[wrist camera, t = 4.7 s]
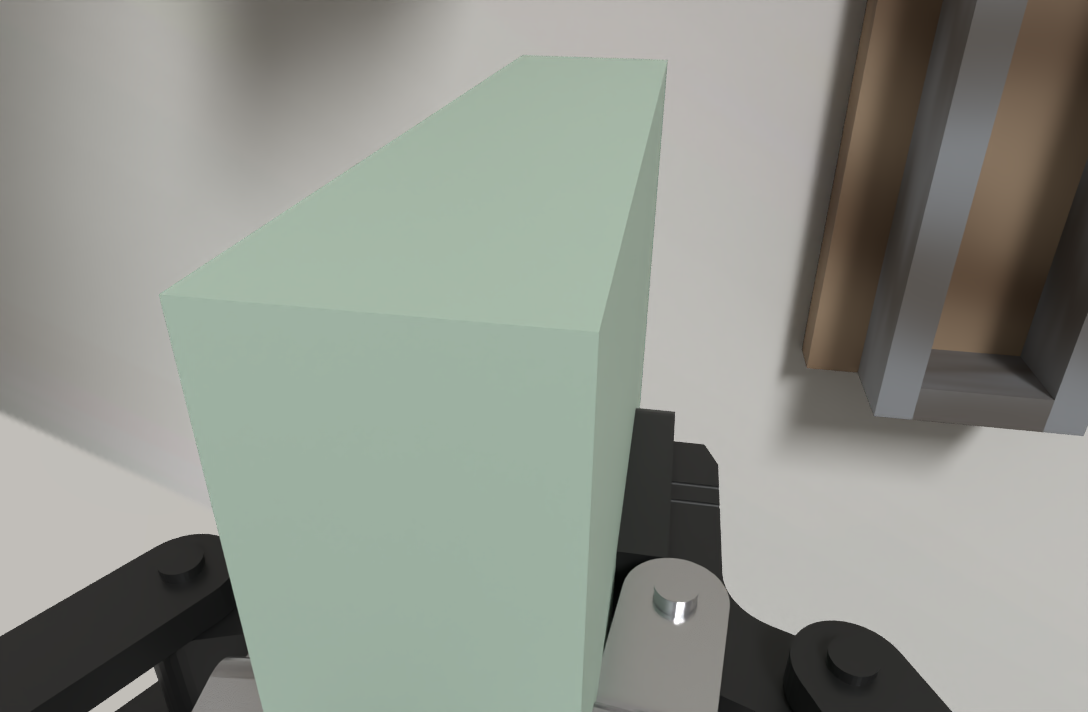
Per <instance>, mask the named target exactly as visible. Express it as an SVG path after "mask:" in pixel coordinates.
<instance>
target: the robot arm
mask: <svg viewBox="0 0 1088 712" xmlns="http://www.w3.org/2000/svg"><path fill="white" fill-rule="evenodd" d="M674 423H675V412H671V411H661V410H651V409H641V408H636V410H635V417H634V424H633V432H632V439H631V447H630V454H629V462H628V469H627V477H626V484H625V492H624V499H623V507H622V515H621V522H620V530H619V537H618V545H617V553H616V567H615V581H614V596H613V610H612V624H611V628H610V632H609V635H608V639H607V642H606V645H605V649H604V652H603V656H602V661H601V669H600V676H599V684H598V691H597V698H596V702H594V705H593V710H592V712H952V711H951V710H950V709H949V708H948V707H947V705H946V704H945V703H944V702H943V701H942V700H941V699H940V697H939V696H938V695H937V694H936V693H935V692H934V691H933V689H932V688H931V687H930V686H929V685H928V684H927V683H926V681H925V680H924V679H923V678H922V677H921V676H920V675H919V673H918V672H917V671H916V670H915V669H914V668H913V666H912V665H911V664H910V663H909V662H908V661H907V660H906V658H905V657H904V656H903V655H902V654H901V653H900V652H899V651H898V650H897V649H896V648H895V647H894V646H893V645H892V644H891V643H890V642H888V641H887V640H886V639H885V638H883V637H881V636H880V635H878V634H877V633H875V632H873V631H871V630H869V629H867V628H865V627H862V626H859V625H856V624H852V623H848V622H843V621H821V622H816V623H813V624H810V625H808V626H806V627H805V628H803V629H801V630H800V631H799V632H798V633H797V634H796V636H795V635H792V634H790V633H787V632H785V631H782V630H780V629H777V628H775V627H772V626H770V625H768V624H765V623H763V622H761V621H759V620H758V619H756V618H754V617H753V616H751V615H750V614H748V613H747V612H746V611H744V610H743V609H742V608H741V607H740V606H739V605H738V604H737V603H736V602H735V601H734V600H733V599H732V597H731V596H730V595H729V593H728V591H727V589H726V587H725V584H724V581H723V576H722V556H721V530H720V508H719V504H720V503H719V477H718V464H717V463H716V461H715V460H714V458H713V457H712V455H711V454H710V452H709V451H708V449H707V448H706V446H705V445H703V444H694V443H684V442H675V441H674ZM152 667H154V669H155V672H156V675H157V678H158V682H156V683H155V684H153V685H152V686H151V687H149V688H148V689H146V690H145V691H144V692H142V693H141V694H139V695H138V696H136V697H135V698H134V699H132V700H131V701H129V702H128V703H126V704H125V705H124V706H122V707H121V708H120V709H118V710H117V711H115V712H263V708H262V704H261V700H260V696H259V692H258V688H257V684H256V680H255V676H254V672H253V669H252V665H251V661H250V657H249V653H248V649H247V645H246V641H245V637H244V633H243V629H242V625H241V621H240V617H239V613H238V609H237V605H236V601H235V597H234V593H233V589H232V585H231V581H230V577H229V573H228V569H227V565H226V561H225V557H224V553H223V549H222V545H221V541H220V537H219V536H217V535H211V534H194V535H188V536H182V537H179V538H176V539H172V540H170V541H167V542H165V543H163V544H161V545H159V546H157V547H155V548H153V549H151V550H150V551H148V552H146V553H144V554H143V555H141V556H139V557H137V558H136V559H134V560H132V561H130V562H129V563H127V564H125V565H123V566H122V567H120V568H119V569H117V570H115V571H113V572H112V573H110V574H108V575H106V576H104V577H103V578H101V579H99V580H98V581H96V582H94V583H92V584H90V585H89V586H87V587H86V588H84V589H82V590H80V591H78V592H77V593H75V594H73V595H72V596H70V597H68V598H66V599H64V600H63V601H61V602H59V603H58V604H56V605H54V606H52V607H51V608H49V609H47V610H45V611H44V612H42V613H40V614H38V615H37V616H35V617H33V618H32V619H30V620H28V621H26V622H25V623H23V624H21V625H19V626H18V627H16V628H14V629H13V630H11V631H9V632H7V633H5V634H4V635H2V636H0V712H88V711H90V710H91V709H93V708H94V707H96V706H97V705H99V704H100V703H102V702H103V701H104V700H106V699H107V698H109V697H110V696H112V695H113V694H115V693H116V692H118V691H119V690H120V689H122V688H123V687H125V686H126V685H128V684H129V683H131V682H132V681H134V680H135V679H136V678H138V677H139V676H141V675H142V674H143V673H145V672H147V671H148V670H149V669H151V668H152Z"/></svg>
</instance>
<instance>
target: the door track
mask: <svg viewBox="0 0 1088 712" xmlns="http://www.w3.org/2000/svg"><path fill="white" fill-rule="evenodd" d="M802 351H803V355H804V359H805V363H806V367H807V368H812V369H823V370H834V371H846V372H857V373H858V375H859V377H860V380H861V383H862V385H863V388H864V391H865V393H866V396H867V399H868V401H869V404H870V407H871V409H872V412H873V415H874V416H879V417H889V418H900V419H910V420H921V421H931V422H942V423H952V424H963V425H973V426H984V427H994V428H1005V429H1015V430H1026V431H1036V432H1047V433H1057V434H1068V435H1078V436H1084V433H1085V431H1086V428H1087V426H1088V0H867V5H866V11H865V16H864V21H863V27H862V32H861V37H860V43H859V48H858V53H857V59H856V64H855V69H854V75H853V80H852V85H851V91H850V96H849V102H848V107H847V112H846V118H845V123H844V128H843V134H842V139H841V144H840V150H839V155H838V160H837V166H836V171H835V176H834V182H833V187H832V192H831V198H830V203H829V208H828V214H827V219H826V224H825V230H824V235H823V241H822V246H821V251H820V257H819V262H818V267H817V273H816V278H815V283H814V289H813V294H812V299H811V305H810V310H809V315H808V321H807V326H806V331H805V337H804V342H803V347H802Z"/></svg>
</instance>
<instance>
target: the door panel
mask: <svg viewBox="0 0 1088 712" xmlns="http://www.w3.org/2000/svg"><path fill="white" fill-rule="evenodd" d="M667 61H668V60H650V59H619V58H589V57H558V56H527V55H522V56H521V57H519V58H518V59H516V60H515V61H513V62H512V63H510V64H508V65H507V66H505V67H504V68H502V69H501V70H499V71H498V72H496V73H495V74H493V75H492V76H490V77H489V78H487V79H486V80H484V81H483V82H481V83H480V84H478V85H477V86H475V87H474V88H472V89H470V90H469V91H467V92H466V93H464V94H463V95H461V96H460V97H458V98H457V99H455V100H454V101H452V102H451V103H449V104H448V105H446V106H445V107H443V108H442V109H440V110H439V111H437V112H436V113H434V114H432V115H431V116H429V117H428V118H426V119H425V120H423V121H422V122H420V123H419V124H417V125H416V126H414V127H413V128H411V129H410V130H408V131H407V132H405V133H404V134H402V135H401V136H399V137H398V138H396V139H395V140H393V141H391V142H390V143H388V144H387V145H385V146H384V147H382V148H381V149H379V150H378V151H376V152H375V153H373V154H372V155H370V156H369V157H367V158H366V159H364V160H363V161H361V162H360V163H358V164H357V165H355V166H353V167H352V168H350V169H349V170H347V171H346V172H344V173H343V174H341V175H340V176H338V177H337V178H335V179H334V180H332V181H331V182H329V183H328V184H326V185H325V186H323V187H322V188H320V189H319V190H317V191H315V192H314V193H312V194H311V195H309V196H308V197H306V198H305V199H303V200H302V201H300V202H299V203H297V204H296V205H294V206H293V207H291V208H290V209H288V210H287V211H285V212H284V213H282V214H281V215H279V216H278V217H276V218H274V219H273V220H271V221H270V222H268V223H267V224H265V225H264V226H262V227H261V228H259V229H258V230H256V231H255V232H253V233H252V234H250V235H249V236H247V237H246V238H244V239H243V240H241V241H240V242H238V243H236V244H235V245H233V246H232V247H230V248H229V249H227V250H226V251H224V252H223V253H221V254H220V255H218V256H217V257H215V258H214V259H212V260H211V261H209V262H208V263H206V264H205V265H203V266H202V267H200V268H198V269H197V270H195V271H194V272H192V273H191V274H189V275H188V276H186V277H185V278H183V279H182V280H180V281H179V282H177V283H176V284H174V285H173V286H171V287H170V288H168V289H167V290H165V291H164V292H162V293H160V294H159V297H160V301H161V305H162V309H163V313H164V317H165V321H166V325H167V329H168V333H169V337H170V341H171V345H172V349H173V353H174V357H175V361H176V365H177V369H178V373H179V377H180V381H181V385H182V389H183V393H184V397H185V401H186V405H187V409H188V413H189V417H190V421H191V425H192V429H193V433H194V437H195V441H196V445H197V449H198V453H199V457H200V461H201V465H202V469H203V473H204V477H205V481H206V485H207V489H208V493H209V497H210V501H211V505H212V509H213V513H214V517H215V521H216V525H217V529H218V533H219V537H220V541H221V545H222V549H223V553H224V557H225V561H226V565H227V569H228V573H229V577H230V581H231V585H232V589H233V593H234V597H235V601H236V605H237V609H238V613H239V617H240V621H241V625H242V629H243V633H244V637H245V641H246V645H247V649H248V653H249V657H250V661H251V665H252V669H253V672H254V676H255V680H256V684H257V688H258V692H259V696H260V700H261V704H262V708H263V712H592V710H593V705H594V702H596V698H597V691H598V684H599V676H600V669H601V661H602V656H603V652H604V649H605V645H606V642H607V639H608V635H609V632H610V628H611V624H612V610H613V596H614V581H615V567H616V553H617V545H618V537H619V530H620V522H621V515H622V507H623V499H624V492H625V484H626V477H627V469H628V462H629V454H630V447H631V439H632V432H633V424H634V417H635V410H636V408H640V400H641V387H642V375H643V362H644V349H645V337H646V324H647V312H648V299H649V287H650V274H651V262H652V249H653V237H654V224H655V212H656V199H657V187H658V174H659V161H660V149H661V136H662V124H663V111H664V99H665V86H666V74H667Z"/></svg>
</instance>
